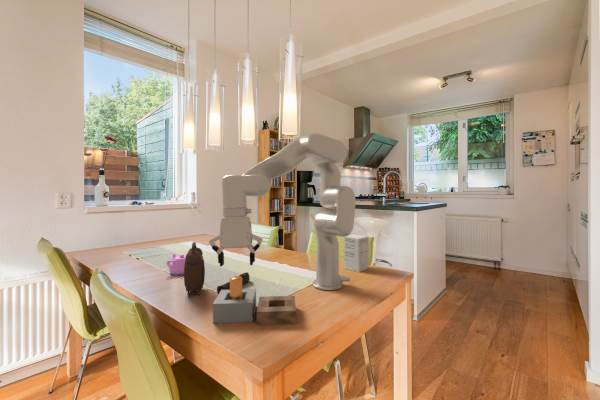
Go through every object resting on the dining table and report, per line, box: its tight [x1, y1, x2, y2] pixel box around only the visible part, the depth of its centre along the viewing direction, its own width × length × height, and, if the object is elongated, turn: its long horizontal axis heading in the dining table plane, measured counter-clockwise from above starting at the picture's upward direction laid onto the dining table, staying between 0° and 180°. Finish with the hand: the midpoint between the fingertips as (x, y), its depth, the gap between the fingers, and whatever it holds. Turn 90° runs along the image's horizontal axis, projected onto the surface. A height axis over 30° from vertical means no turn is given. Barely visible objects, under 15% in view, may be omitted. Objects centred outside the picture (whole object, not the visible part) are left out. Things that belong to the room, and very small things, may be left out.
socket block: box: [212, 288, 257, 324], centre depth 92 cm, size 12×12×6 cm
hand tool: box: [216, 271, 250, 296], centre depth 117 cm, size 19×4×5 cm, turn 152°
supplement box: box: [343, 234, 370, 273], centre depth 144 cm, size 10×9×17 cm
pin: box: [229, 275, 243, 300], centre depth 92 cm, size 4×4×12 cm
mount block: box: [256, 295, 297, 326], centre depth 91 cm, size 12×12×4 cm
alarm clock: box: [183, 241, 206, 296], centre depth 112 cm, size 15×7×20 cm, turn 17°
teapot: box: [166, 252, 186, 276], centre depth 139 cm, size 12×14×9 cm
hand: (236, 264), depth 92 cm, fingers open, 9 cm apart
